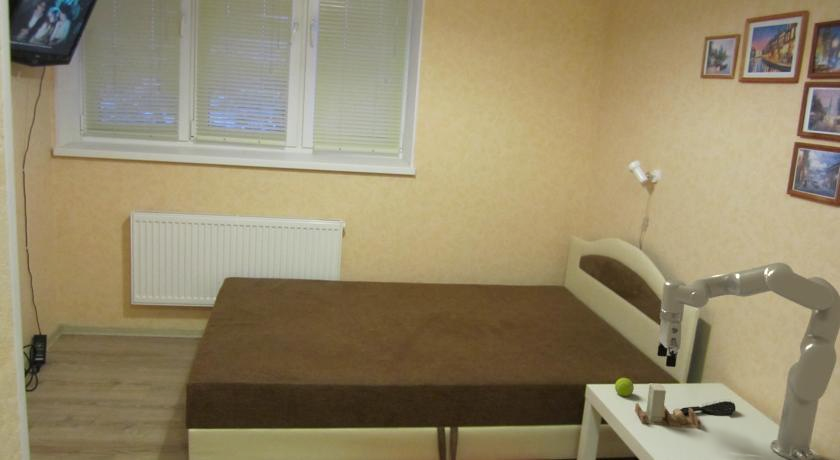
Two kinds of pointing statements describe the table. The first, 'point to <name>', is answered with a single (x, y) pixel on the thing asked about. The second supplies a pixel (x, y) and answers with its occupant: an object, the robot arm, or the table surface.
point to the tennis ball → (624, 387)
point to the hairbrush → (714, 408)
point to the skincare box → (655, 402)
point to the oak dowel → (680, 416)
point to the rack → (669, 418)
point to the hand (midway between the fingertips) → (666, 361)
